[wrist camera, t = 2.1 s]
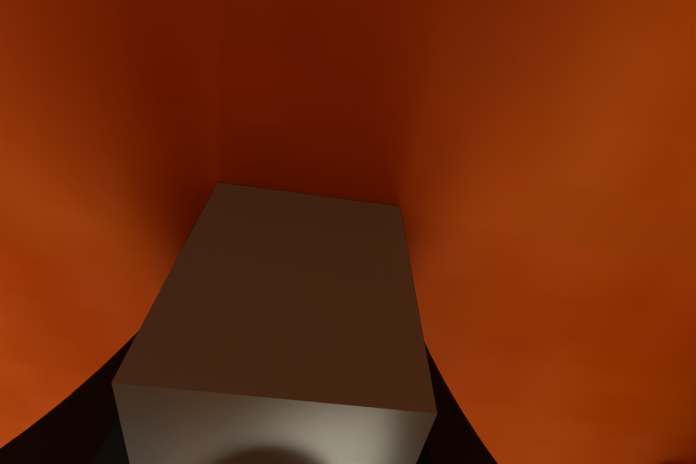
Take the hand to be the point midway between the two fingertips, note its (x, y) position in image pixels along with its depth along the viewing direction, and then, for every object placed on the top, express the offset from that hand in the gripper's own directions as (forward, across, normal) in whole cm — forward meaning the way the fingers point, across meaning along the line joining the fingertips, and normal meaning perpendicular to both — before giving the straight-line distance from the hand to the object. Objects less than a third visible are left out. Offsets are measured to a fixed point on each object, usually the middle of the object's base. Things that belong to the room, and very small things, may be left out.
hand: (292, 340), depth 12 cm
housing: (+2, 0, 0) cm, 2 cm away
